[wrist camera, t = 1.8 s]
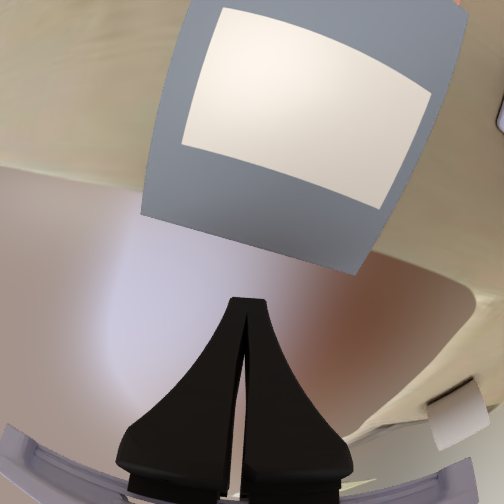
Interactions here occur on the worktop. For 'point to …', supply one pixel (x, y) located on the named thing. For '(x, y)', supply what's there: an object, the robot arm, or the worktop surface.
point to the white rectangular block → (303, 106)
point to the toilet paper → (457, 415)
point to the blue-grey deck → (276, 183)
